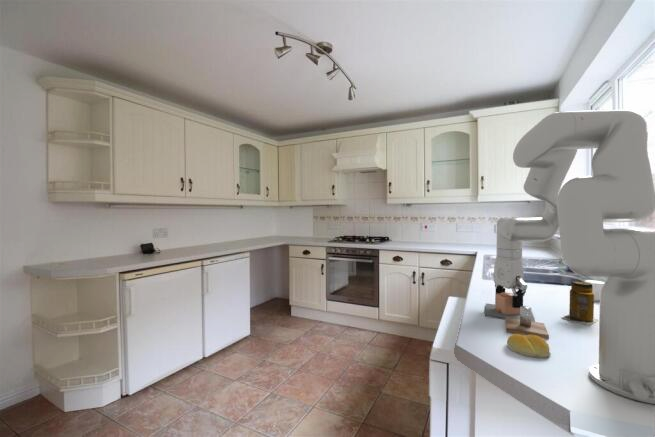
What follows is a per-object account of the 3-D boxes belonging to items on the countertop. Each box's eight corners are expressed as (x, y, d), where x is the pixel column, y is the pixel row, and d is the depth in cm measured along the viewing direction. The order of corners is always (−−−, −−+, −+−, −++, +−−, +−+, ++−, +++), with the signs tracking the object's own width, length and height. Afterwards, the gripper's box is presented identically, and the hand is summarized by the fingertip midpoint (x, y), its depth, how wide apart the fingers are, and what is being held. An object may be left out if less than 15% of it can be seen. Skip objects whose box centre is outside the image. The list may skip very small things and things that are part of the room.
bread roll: (503, 342, 80) (503, 327, 80) (541, 346, 78) (541, 331, 78) (512, 356, 72) (512, 340, 72) (556, 361, 70) (556, 344, 70)
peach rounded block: (502, 314, 100) (502, 296, 100) (492, 308, 105) (493, 291, 105) (523, 314, 100) (523, 296, 100) (513, 308, 105) (513, 291, 105)
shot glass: (580, 297, 122) (580, 280, 121) (589, 295, 124) (589, 279, 124) (601, 302, 115) (601, 284, 115) (610, 300, 118) (610, 282, 118)
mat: (535, 323, 93) (535, 321, 93) (484, 316, 100) (484, 314, 100) (530, 311, 105) (531, 309, 105) (486, 304, 112) (486, 303, 112)
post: (531, 328, 86) (531, 309, 86) (520, 326, 88) (520, 307, 88) (530, 324, 89) (531, 306, 89) (519, 323, 90) (519, 305, 90)
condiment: (598, 320, 96) (599, 283, 96) (589, 325, 91) (590, 287, 91) (570, 313, 102) (571, 279, 102) (560, 318, 97) (561, 282, 97)
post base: (548, 339, 81) (548, 335, 81) (506, 332, 86) (506, 328, 86) (543, 327, 90) (544, 323, 90) (505, 321, 95) (505, 317, 95)
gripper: (484, 250, 111) (484, 296, 111) (513, 257, 93) (513, 311, 94) (504, 250, 111) (504, 296, 111) (537, 257, 93) (537, 311, 94)
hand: (508, 303), depth 102 cm, fingers open, 9 cm apart
